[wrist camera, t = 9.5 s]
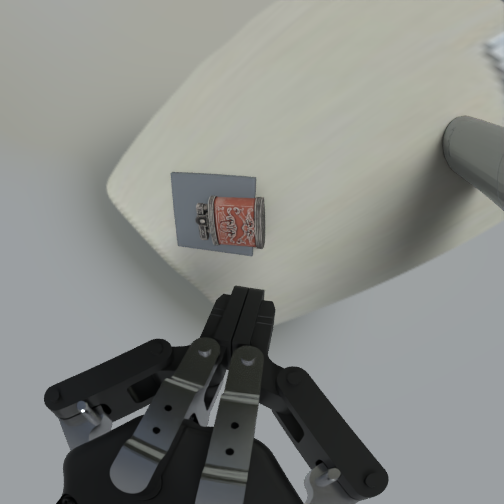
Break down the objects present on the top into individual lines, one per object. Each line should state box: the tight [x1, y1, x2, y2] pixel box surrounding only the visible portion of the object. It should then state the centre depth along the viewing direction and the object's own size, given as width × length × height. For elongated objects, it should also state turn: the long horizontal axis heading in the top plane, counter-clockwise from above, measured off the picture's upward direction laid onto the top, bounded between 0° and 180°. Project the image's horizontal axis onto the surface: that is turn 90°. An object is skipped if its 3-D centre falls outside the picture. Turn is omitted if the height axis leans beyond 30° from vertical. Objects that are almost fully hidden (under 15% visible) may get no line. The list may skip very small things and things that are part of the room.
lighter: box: [195, 195, 265, 249], centre depth 40 cm, size 8×3×10 cm
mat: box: [171, 172, 256, 256], centre depth 43 cm, size 13×13×1 cm
